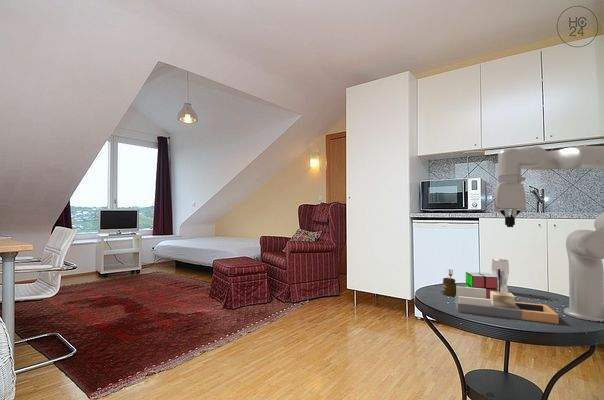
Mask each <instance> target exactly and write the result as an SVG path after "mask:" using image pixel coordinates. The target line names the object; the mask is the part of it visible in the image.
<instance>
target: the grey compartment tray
mask: <svg viewBox="0 0 604 400" xmlns="http://www.w3.org/2000/svg"><path fill="white" fill-rule="evenodd" d="M454 304H455V307H456V311H457V312H458V313H467V314H474V315H480V316H481V315H482V316H490V317H498V318H499V317H500V318H506V319H507V318H509V319H515V320H524V321H533V322H541V323H549V324H550V323H551V324H557V325H558V324H560V323H559V322H560V321H559V320H560V318H559V316H560V315H559V313H557V312H556V311H554V310H553V308H551V307H550V306H548V305H547V304H542V303H529V302H522V301H515V308H511V307H502V306H493V305H492V303H491V300H490V299H486V289H481V288H471V287H466V286H458V285H456V295H455V296H454Z"/></svg>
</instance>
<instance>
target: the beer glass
mask: <svg viewBox="0 0 604 400" xmlns="http://www.w3.org/2000/svg"><path fill="white" fill-rule="evenodd" d="M509 273H510V265H509V260H508V259H503V258H492V259H491V274H492V275H493V276H495V277H497V278H498V288H497V289H498V292H507V293H509V291H508V290H509V289H508V280H509V276H510V275H509Z"/></svg>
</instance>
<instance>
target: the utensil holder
mask: <svg viewBox="0 0 604 400" xmlns="http://www.w3.org/2000/svg"><path fill="white" fill-rule="evenodd" d="M445 272H448V277H443V278H442V283H441V292H442V294H443V295H444V296H448V297H449V296H450V297H455V296H457V283H456V279H455V278H453V277H452V276H453V273H454V272H453V268H452V269H449V268H448V269H446V270H445Z"/></svg>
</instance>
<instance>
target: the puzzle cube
mask: <svg viewBox="0 0 604 400" xmlns="http://www.w3.org/2000/svg"><path fill="white" fill-rule="evenodd" d="M465 287H471V288H481V289H486V299H490V291H496V292H498V289H497V288H498V278H497V277H495V276H493V275H492V273H490V272H477V271H466V272H465Z"/></svg>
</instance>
